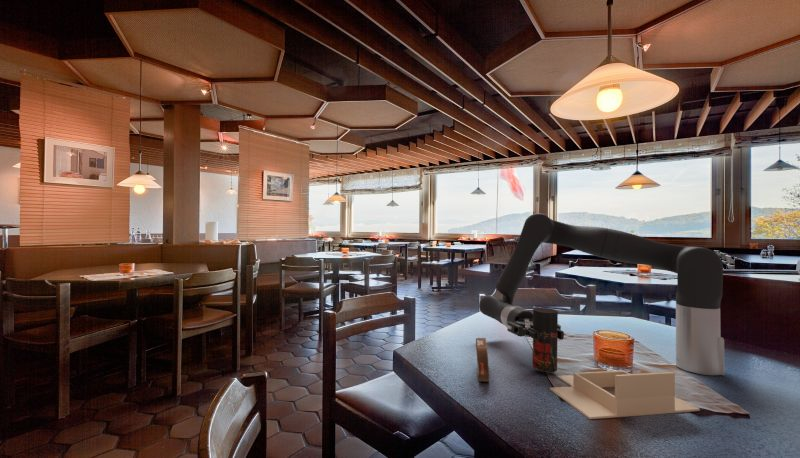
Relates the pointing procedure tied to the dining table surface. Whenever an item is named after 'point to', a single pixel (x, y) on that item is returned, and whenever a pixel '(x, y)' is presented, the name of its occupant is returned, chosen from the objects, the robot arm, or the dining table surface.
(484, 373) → the thin brown box
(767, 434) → the dining table surface
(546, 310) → the deodorant
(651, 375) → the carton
